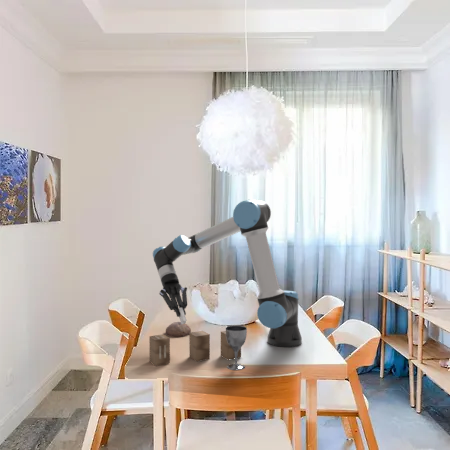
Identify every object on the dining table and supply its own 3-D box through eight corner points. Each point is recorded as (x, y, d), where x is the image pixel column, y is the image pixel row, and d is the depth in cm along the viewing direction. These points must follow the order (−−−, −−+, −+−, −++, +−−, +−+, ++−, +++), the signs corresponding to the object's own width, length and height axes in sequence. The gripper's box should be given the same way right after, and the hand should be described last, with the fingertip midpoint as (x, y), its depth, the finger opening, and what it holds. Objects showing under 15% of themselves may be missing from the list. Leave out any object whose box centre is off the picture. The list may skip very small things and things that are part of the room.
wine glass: (249, 369, 178) (249, 330, 177) (229, 371, 176) (229, 331, 175) (242, 362, 186) (242, 324, 185) (223, 364, 184) (223, 326, 183)
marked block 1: (163, 358, 190) (163, 333, 189) (170, 363, 184) (169, 337, 184) (149, 361, 187) (149, 336, 186) (155, 366, 181) (155, 340, 181)
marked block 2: (233, 353, 196) (233, 329, 196) (241, 357, 191) (241, 333, 191) (220, 355, 193) (220, 331, 193) (228, 360, 188) (228, 335, 188)
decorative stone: (172, 339, 217) (172, 327, 217) (161, 332, 227) (161, 321, 227) (195, 335, 223) (195, 323, 223) (183, 329, 233) (183, 317, 233)
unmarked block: (202, 354, 195) (202, 330, 194) (209, 359, 190) (209, 334, 189) (189, 357, 192) (189, 332, 191) (196, 361, 187) (196, 336, 186)
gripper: (179, 280, 221) (195, 325, 207) (152, 283, 214) (167, 328, 201) (184, 271, 216) (200, 315, 202) (157, 273, 209) (172, 319, 196)
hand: (184, 322), depth 202 cm, fingers closed
